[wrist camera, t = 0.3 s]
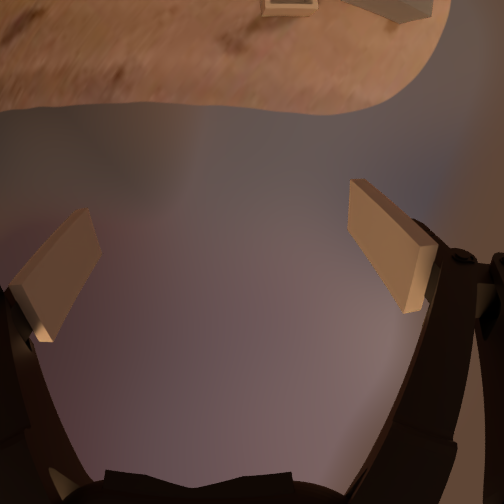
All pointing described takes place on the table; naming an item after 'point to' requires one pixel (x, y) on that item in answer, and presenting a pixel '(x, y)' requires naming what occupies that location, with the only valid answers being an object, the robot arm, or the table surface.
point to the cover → (397, 8)
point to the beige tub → (288, 7)
